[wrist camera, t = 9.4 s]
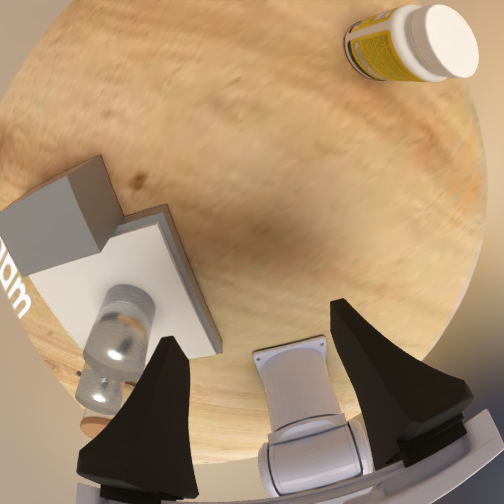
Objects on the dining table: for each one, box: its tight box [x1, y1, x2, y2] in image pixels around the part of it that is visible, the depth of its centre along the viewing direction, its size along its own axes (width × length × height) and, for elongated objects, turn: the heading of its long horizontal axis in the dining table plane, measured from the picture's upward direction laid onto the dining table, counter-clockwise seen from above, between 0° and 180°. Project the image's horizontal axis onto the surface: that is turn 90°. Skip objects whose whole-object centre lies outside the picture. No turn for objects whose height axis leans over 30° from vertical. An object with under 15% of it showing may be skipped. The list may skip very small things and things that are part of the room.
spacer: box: [83, 284, 156, 382], centre depth 18 cm, size 4×4×6 cm
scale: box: [0, 155, 223, 364], centre depth 19 cm, size 20×15×5 cm
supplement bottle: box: [345, 4, 479, 82], centre depth 10 cm, size 5×5×8 cm
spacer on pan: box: [75, 361, 125, 415], centre depth 21 cm, size 4×4×6 cm
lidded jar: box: [80, 383, 135, 439], centre depth 27 cm, size 11×11×9 cm
